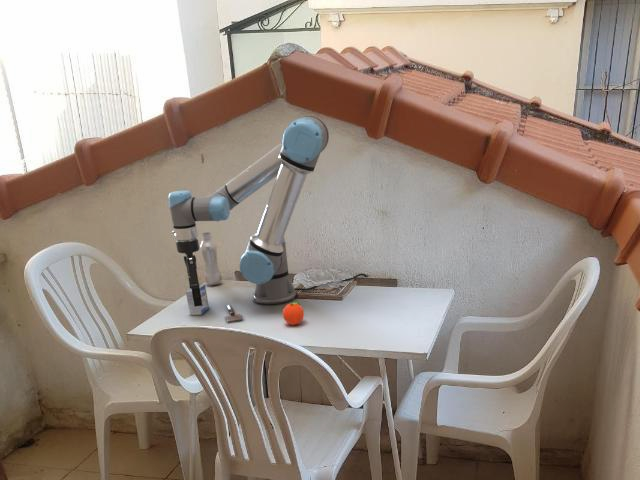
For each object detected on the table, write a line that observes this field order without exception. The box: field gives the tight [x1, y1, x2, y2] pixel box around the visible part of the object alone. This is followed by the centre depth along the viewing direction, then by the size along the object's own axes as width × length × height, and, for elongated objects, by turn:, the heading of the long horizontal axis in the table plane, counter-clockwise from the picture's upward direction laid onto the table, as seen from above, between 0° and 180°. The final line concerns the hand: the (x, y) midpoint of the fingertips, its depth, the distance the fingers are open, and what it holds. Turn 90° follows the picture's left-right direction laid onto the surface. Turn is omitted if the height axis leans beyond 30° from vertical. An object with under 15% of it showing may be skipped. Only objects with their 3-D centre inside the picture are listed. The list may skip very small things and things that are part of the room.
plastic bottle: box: [199, 231, 222, 286], centre depth 272 cm, size 6×7×20 cm
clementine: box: [282, 302, 305, 326], centre depth 227 cm, size 8×7×7 cm
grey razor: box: [225, 304, 243, 324], centre depth 241 cm, size 16×5×2 cm, turn 15°
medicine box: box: [185, 284, 210, 316], centre depth 245 cm, size 8×4×9 cm, turn 168°
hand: (196, 300), depth 245 cm, fingers open, 13 cm apart
